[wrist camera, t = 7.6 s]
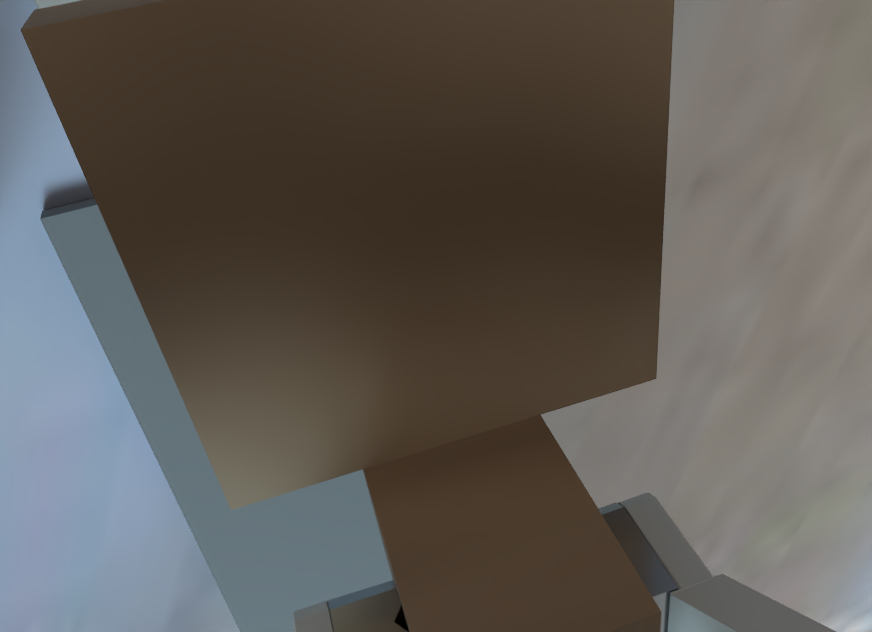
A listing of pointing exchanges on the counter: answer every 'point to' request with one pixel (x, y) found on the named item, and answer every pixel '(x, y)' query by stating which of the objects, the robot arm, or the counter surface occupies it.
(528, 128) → the tan stepped block
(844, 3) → the counter surface
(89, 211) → the tool rest mat
